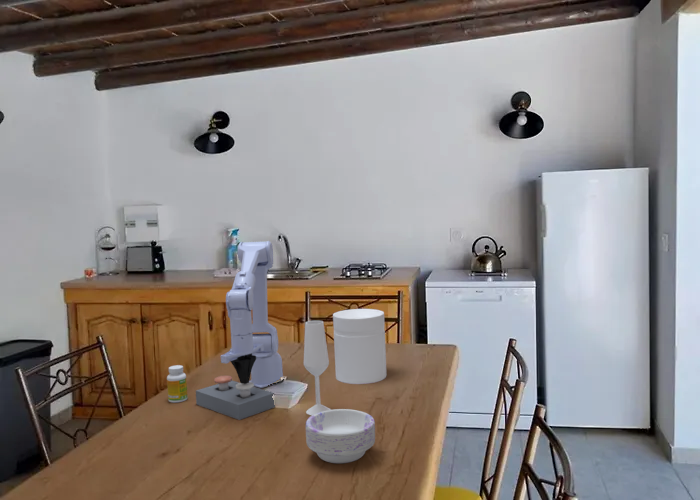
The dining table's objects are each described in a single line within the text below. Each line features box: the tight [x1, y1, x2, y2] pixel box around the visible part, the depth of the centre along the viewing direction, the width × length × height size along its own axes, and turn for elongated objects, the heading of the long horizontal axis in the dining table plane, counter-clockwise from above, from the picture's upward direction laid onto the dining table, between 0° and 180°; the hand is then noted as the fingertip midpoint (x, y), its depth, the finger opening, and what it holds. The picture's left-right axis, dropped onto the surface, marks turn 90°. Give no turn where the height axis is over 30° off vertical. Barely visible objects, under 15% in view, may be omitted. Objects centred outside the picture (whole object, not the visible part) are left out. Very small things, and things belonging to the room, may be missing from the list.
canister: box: [332, 308, 387, 385], centre depth 193 cm, size 16×16×20 cm
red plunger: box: [213, 375, 233, 391], centre depth 174 cm, size 5×5×4 cm
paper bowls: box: [305, 408, 376, 464], centre depth 135 cm, size 15×15×8 cm
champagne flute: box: [303, 320, 332, 416], centre depth 163 cm, size 7×7×24 cm
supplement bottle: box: [166, 364, 188, 404], centre depth 178 cm, size 5×5×10 cm
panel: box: [195, 380, 276, 421], centre depth 171 cm, size 12×20×4 cm, turn 47°
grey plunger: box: [236, 382, 255, 398], centre depth 167 cm, size 5×5×4 cm
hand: (244, 382), depth 167 cm, fingers closed
